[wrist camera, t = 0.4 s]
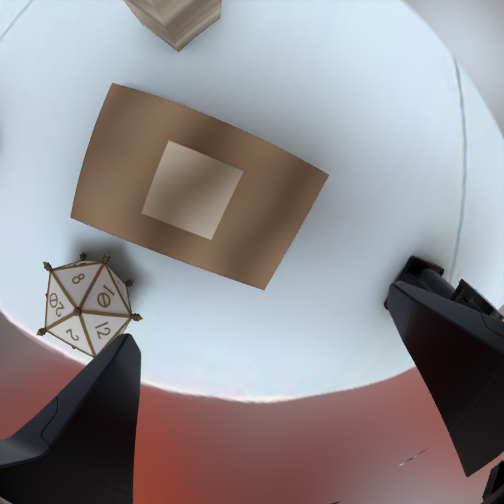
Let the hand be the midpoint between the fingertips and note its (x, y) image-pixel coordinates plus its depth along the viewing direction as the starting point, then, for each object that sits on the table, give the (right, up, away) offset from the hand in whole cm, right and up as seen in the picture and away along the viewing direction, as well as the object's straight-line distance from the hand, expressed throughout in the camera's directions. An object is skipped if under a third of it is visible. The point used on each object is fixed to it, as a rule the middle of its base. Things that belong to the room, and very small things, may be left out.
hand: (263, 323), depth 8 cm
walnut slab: (-5, +7, +10) cm, 13 cm away
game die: (-14, 0, +13) cm, 19 cm away
